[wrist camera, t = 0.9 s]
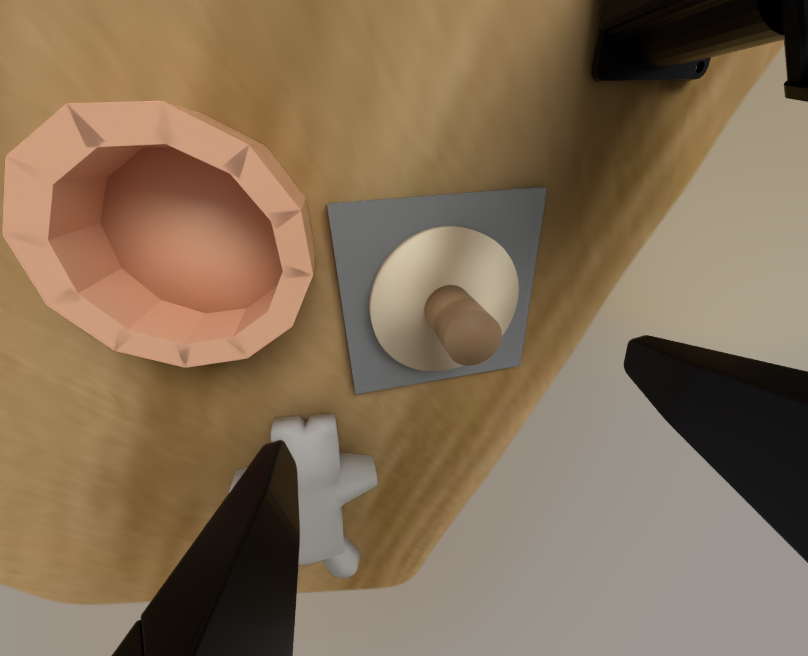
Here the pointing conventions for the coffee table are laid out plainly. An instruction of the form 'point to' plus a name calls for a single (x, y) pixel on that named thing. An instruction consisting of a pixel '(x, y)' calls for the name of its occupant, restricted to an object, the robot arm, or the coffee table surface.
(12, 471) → the coffee table surface
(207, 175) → the bowl
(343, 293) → the mat
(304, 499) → the grey toy figurine
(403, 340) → the lid
